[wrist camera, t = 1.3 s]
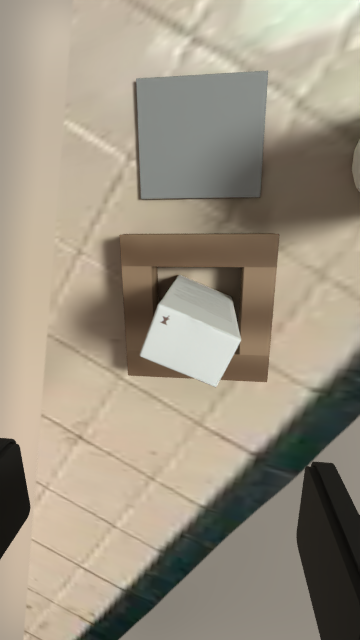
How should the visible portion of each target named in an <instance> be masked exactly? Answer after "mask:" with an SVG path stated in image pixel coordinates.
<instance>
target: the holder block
mask: <svg viewBox="0 0 360 640" xmlns="http://www.w3.org/2000/svg"><path fill="white" fill-rule="evenodd" d="M278 246H279V234H274V233H254V234H123V235H120V250H121V266H122V283H123V299H124V316H125V332H126V348H127V365H128V375H131V376H151V377H172V378H192V377H190V376H187V375H185V374H182V373H180V372H177V371H175V370H172V369H170V368H167V367H165V366H162V365H160V364H157V363H155V362H152V361H150V360H148V359H145V358H143V357H141V356H140V352H141V349H142V346H143V344H144V341H145V338H146V336H147V333H148V330H149V328H150V325H151V322H152V319H153V317H154V314H155V311H156V308H157V306H158V274H157V266H159V267H242V268H241V287H240V307H239V326H238V328H239V332H240V336H241V342H240V344H239V346H238V347H237V349H236V351H235V353H234V355H233V357H232V359H231V361H230V363H229V364H228V366H227V368H226V370H225V372H224V374H223V376H222V378H221V379H220V380H234V381H255V382H267V377H268V365H269V353H270V341H271V329H272V317H273V305H274V293H275V282H276V270H277V258H278ZM193 379H195V378H193Z"/></svg>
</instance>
